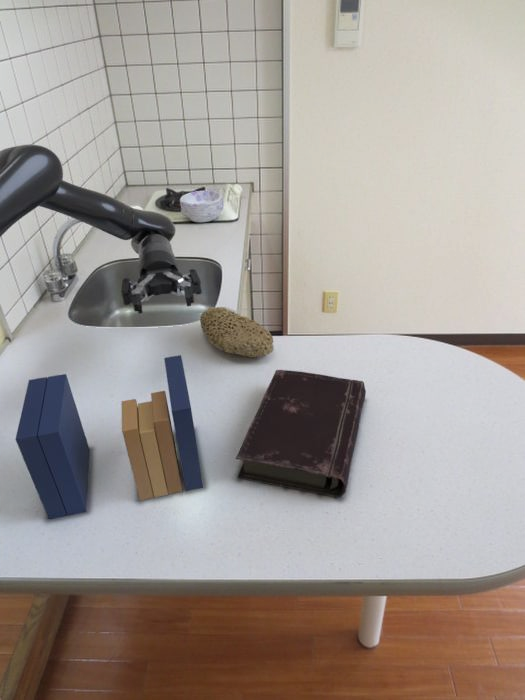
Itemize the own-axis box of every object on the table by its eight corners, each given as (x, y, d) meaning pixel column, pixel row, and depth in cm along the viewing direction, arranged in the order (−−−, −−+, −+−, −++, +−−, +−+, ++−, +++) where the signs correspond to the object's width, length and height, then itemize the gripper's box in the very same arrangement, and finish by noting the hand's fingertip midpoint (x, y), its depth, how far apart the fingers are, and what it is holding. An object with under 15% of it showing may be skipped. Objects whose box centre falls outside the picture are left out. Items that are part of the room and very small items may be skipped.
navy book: (186, 491, 85) (171, 411, 75) (177, 433, 96) (164, 357, 87) (203, 487, 85) (190, 407, 76) (192, 430, 97) (181, 354, 87)
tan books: (139, 500, 84) (121, 428, 75) (138, 469, 89) (120, 398, 81) (182, 491, 85) (168, 419, 76) (178, 461, 91) (165, 390, 82)
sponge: (196, 336, 126) (220, 365, 108) (196, 305, 123) (221, 329, 106) (247, 333, 131) (279, 361, 113) (249, 303, 128) (281, 326, 111)
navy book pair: (48, 519, 81) (15, 439, 72) (56, 456, 93) (28, 379, 83) (86, 511, 82) (58, 431, 73) (89, 450, 94) (66, 373, 84)
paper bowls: (181, 227, 183) (178, 205, 179) (183, 212, 196) (180, 191, 191) (224, 224, 184) (223, 202, 179) (224, 209, 196) (222, 188, 192)
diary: (365, 400, 102) (367, 380, 99) (345, 500, 82) (347, 478, 79) (272, 387, 106) (271, 367, 104) (232, 478, 87) (230, 456, 84)
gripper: (118, 254, 101) (118, 292, 88) (191, 244, 104) (202, 280, 90) (125, 288, 105) (127, 330, 92) (195, 278, 108) (207, 317, 95)
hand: (164, 305), depth 91 cm, fingers open, 8 cm apart
